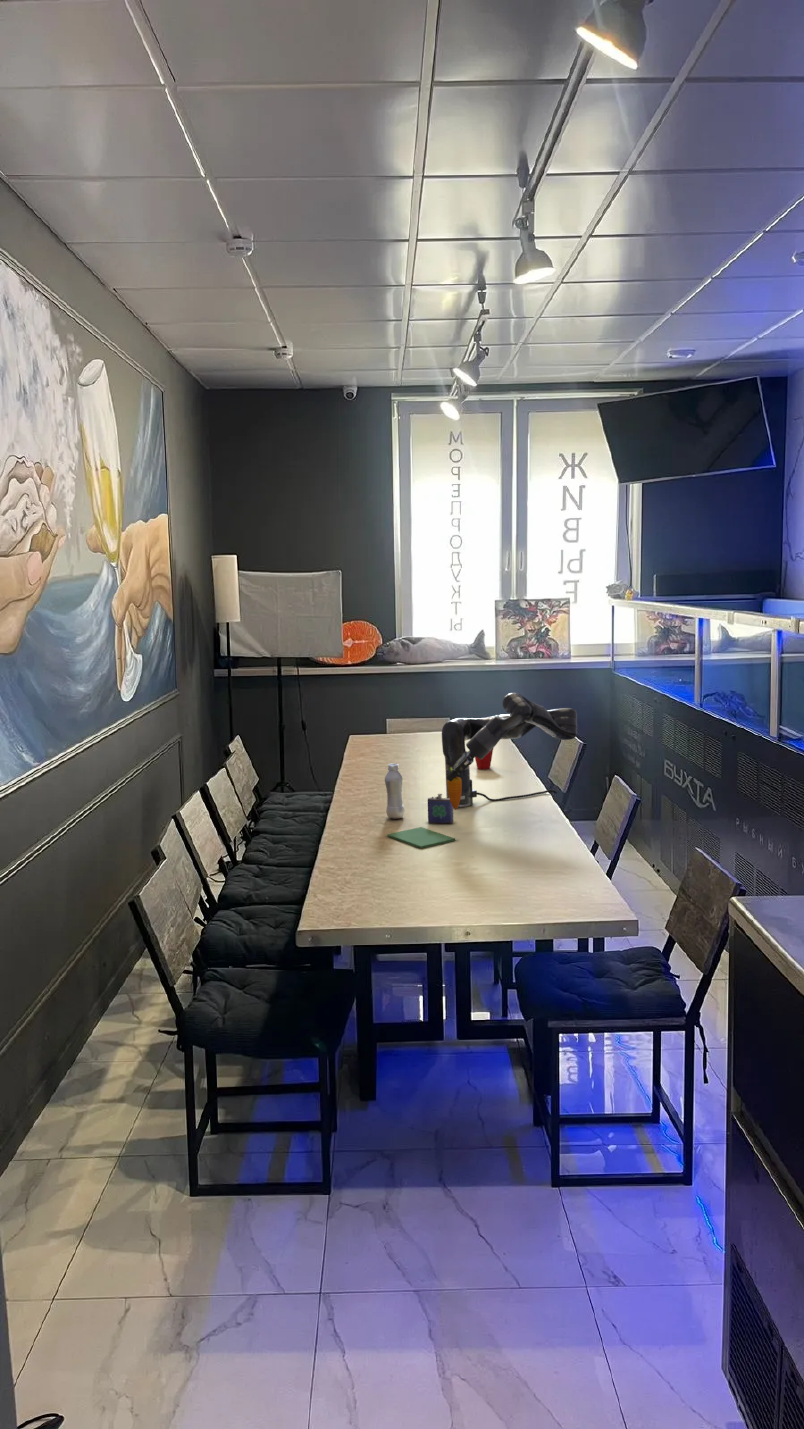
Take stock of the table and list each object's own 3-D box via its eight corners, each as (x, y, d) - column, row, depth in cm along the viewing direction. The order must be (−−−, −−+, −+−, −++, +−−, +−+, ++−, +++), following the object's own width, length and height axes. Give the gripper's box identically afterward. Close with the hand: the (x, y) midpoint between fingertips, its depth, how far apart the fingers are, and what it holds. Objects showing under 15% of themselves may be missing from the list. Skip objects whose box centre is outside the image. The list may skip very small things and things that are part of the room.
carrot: (447, 808, 331) (445, 765, 329) (461, 807, 331) (460, 764, 329) (449, 811, 326) (447, 768, 324) (463, 810, 326) (462, 767, 324)
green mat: (420, 829, 335) (420, 826, 335) (455, 840, 318) (455, 838, 318) (387, 836, 327) (387, 834, 327) (420, 848, 311) (420, 846, 311)
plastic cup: (497, 770, 430) (496, 743, 428) (472, 771, 430) (472, 744, 428) (495, 765, 440) (494, 739, 439) (471, 766, 441) (470, 740, 439)
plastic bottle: (402, 820, 348) (400, 766, 345) (384, 820, 349) (382, 766, 346) (406, 816, 354) (404, 762, 351) (388, 815, 356) (386, 762, 353)
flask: (454, 822, 342) (453, 793, 341) (452, 824, 339) (451, 794, 338) (429, 821, 345) (427, 792, 343) (427, 823, 342) (425, 794, 340)
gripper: (491, 753, 318) (455, 790, 320) (491, 746, 332) (457, 781, 334) (474, 738, 317) (439, 775, 320) (475, 731, 331) (441, 766, 334)
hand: (448, 778), depth 327 cm, fingers closed on carrot, 4 cm apart
